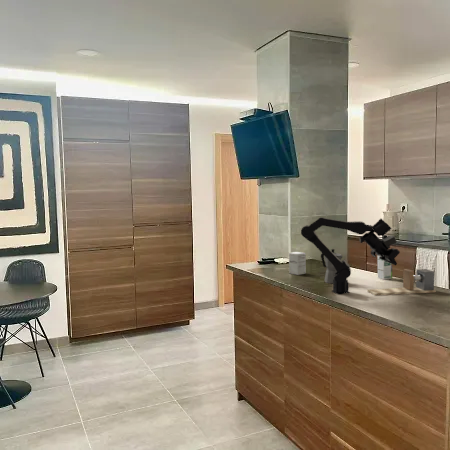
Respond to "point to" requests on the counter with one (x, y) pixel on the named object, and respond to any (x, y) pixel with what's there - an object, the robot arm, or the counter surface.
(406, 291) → the birch base plate
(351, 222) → the robot arm
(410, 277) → the wooden block with shaft
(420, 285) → the bearing block
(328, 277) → the coffeepot
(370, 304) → the counter surface
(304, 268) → the supplement box
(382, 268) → the syrup box
